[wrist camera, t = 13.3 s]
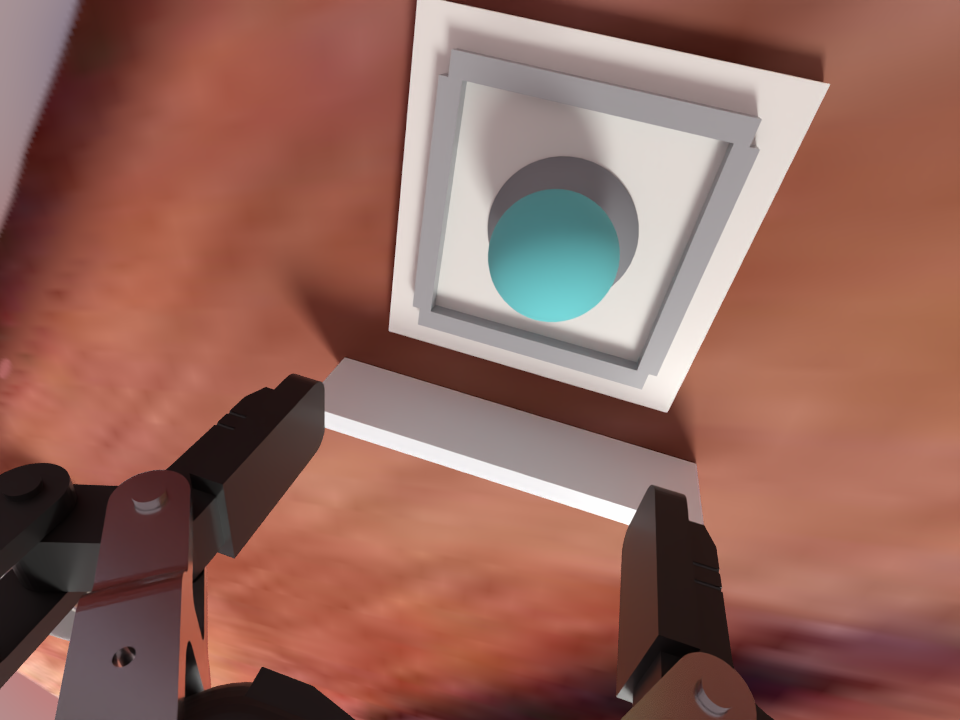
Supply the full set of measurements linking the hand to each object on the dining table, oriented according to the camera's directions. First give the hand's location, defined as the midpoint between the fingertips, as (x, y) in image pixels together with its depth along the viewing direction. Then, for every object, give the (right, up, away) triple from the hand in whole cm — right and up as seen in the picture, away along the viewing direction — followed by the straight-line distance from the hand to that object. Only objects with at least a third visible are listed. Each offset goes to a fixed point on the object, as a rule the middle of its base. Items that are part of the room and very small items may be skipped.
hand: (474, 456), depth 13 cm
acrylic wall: (+2, -1, +20) cm, 20 cm away
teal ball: (+3, +7, +10) cm, 12 cm away
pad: (+4, +9, +13) cm, 16 cm away
